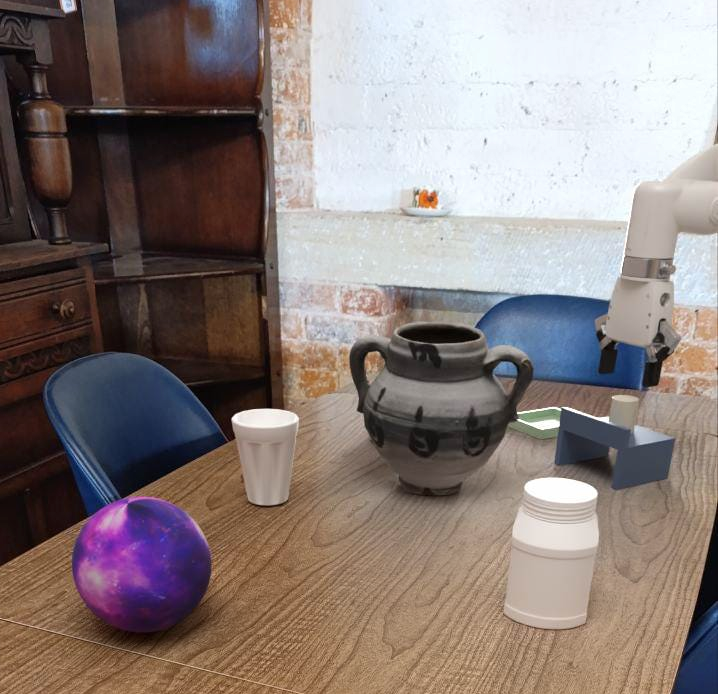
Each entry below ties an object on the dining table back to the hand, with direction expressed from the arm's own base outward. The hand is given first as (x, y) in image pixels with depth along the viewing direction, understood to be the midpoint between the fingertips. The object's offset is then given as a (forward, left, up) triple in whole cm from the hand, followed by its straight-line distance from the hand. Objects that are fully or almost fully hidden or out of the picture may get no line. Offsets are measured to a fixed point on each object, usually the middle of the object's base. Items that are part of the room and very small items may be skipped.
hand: (627, 379), depth 144 cm
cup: (+59, -15, -16) cm, 63 cm away
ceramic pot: (+33, -8, -16) cm, 37 cm away
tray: (-7, -25, -16) cm, 30 cm away
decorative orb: (+88, +14, -16) cm, 90 cm away
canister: (0, 0, -9) cm, 9 cm away
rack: (+1, 0, -16) cm, 16 cm away
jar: (+45, +33, -16) cm, 58 cm away
